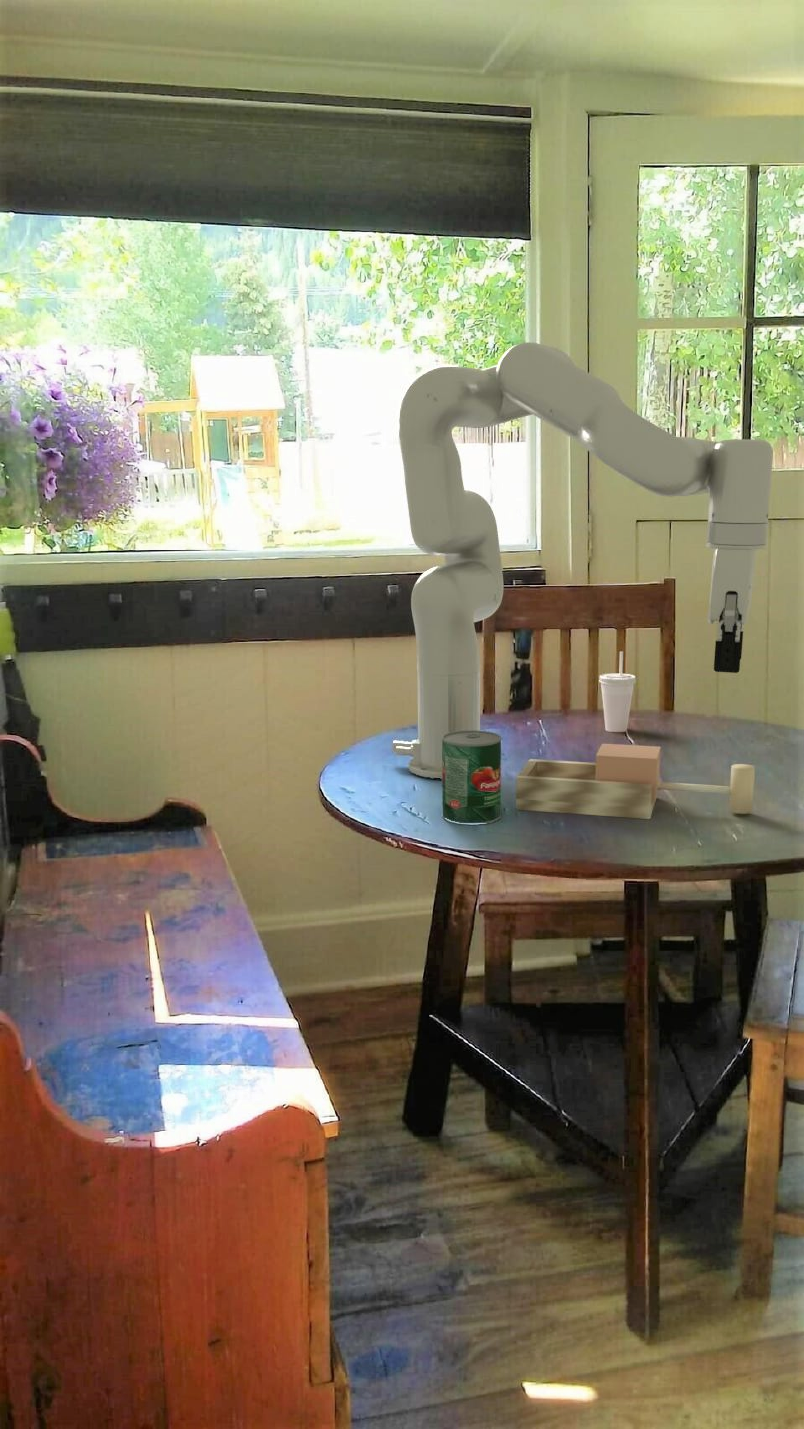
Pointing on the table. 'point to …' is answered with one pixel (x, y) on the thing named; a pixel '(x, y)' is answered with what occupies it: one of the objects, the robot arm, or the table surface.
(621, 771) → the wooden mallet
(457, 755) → the canned tomato
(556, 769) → the wooden tray
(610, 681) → the smoothie
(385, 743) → the table surface
